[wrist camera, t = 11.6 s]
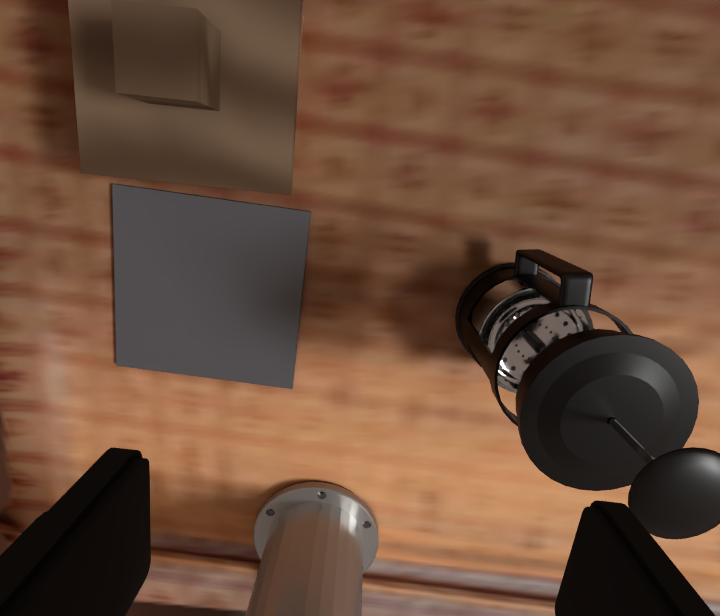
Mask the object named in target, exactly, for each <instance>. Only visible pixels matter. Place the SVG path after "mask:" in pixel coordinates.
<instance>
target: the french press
mask: <svg viewBox="0 0 720 616" xmlns="http://www.w3.org/2000/svg"><path fill="white" fill-rule="evenodd" d="M539 266H541V267H543V268H544V269H546V270H548V271H550V272H552V273H553V274H555V275H557V276H559V277H560V278H561V285H560V284H559V283H557V282H556V281H555V280H554V279H553V278H552V277H550V276H549V275H548V274H547V273H546V272H544V271H542V270H540V269H538V267H539ZM515 279H516V280H520V281H521V282H522V283H524V284H525V285H527V286H528V287H529V288H528V289H524V290H521V291H518V292H515V293H514V294H512V295H510V296H508V297H506V298H505V299H504V300H502V301H501V302H500V303H498V304H497V305H496V306H495V307H494V308H493V309H492V310H491V312H490V313H489V314H488V316H487V317H486V319H485V320H484V322H483V324H482V326H481V329H480V332H479V333H478V331H477V330H476V328H475V327H474V325H473V324H472V320H471V319H472V313H473V309H474V308H475V306H476V304H477V303H478V301H479V300H480V299H481V298H482V297H483V296H484V294H485V293H486V292H488V291H489V290H490V289H492V288H493V287H494V286H496V285H498V284H500V283H502V282H504V281H506V280H515ZM592 283H593V275H592V273H590V272H588V271H586V270H584V269H582V268H580V267H577V266H575V265H573V264H571V263H569V262H566V261H564V260H562V259H560V258H557V257H555V256H553V255H551V254H549V253H546V252H544V251H542V250H539V249H533V250H517V251H516V258H515V263H512V264H503V265H500V266H497V267H493V268H491V269H489V270H487V271H485V272H483V273H482V274H480V275H479V276H478V277H476V278H475V279H474V280H473V281H472V282H471V283H470V284H469V285H468V287H467V288H466V289H465V291H464V292H463V294H462V296H461V298H460V300H459V303H458V306H457V310H456V317H455V318H456V329H457V333H458V336H459V338H460V340H461V342H462V344H463V346H464V347H465V348H466V350H467V351H468V352H469V353H470V354H471V355H472V357H473V358H474V360H475V361H476V362H477V363H478V364H479V366H481V367H482V368H483V370H484V371H485V373H486V375H487V377H488V378H489V380H490V384H491V388H492V391H493V393H494V395H495V397H496V399H497V401H498V403H499V405H500V407H501V408H502V410H503V412H504V413H505V414H506V416H507V417H508V418H509V419H510V420H511V421H512V422H513V423H514V424H515V425H517V426H518V431H519V434H520V438H521V442H522V445H523V447H524V449H525V451H526V453H527V455H528V456H529V458H530V460H531V461H532V462H533V463H534V464H535V466H536V467H537V468H538V469H539V470H540V471H541V472H542V473H544V474H545V475H546V476H548V477H549V478H550V479H552V480H554V481H556V482H559V483H561V484H563V485H565V486H569V487H572V488H576V489H580V490H592V491H600V490H612V489H617V488H621V487H625V486H629V485H631V487H630V491H629V495H628V506H629V509H630V510H631V511H632V512H633V514H634V515H635V516H636V517H637V519H638V520H639V521H640V522H641V524H642V525H643V526H644V527H645V529H646V530H647V531H648V532H649V533H650V534H652V535H654V536H657V537H661V538H665V539H685V538H690V537H694V536H697V535H700V534H703V533H705V532H707V531H709V530H711V529H713V528H714V527H716V526H717V525H718V524H720V453H718V452H716V451H713V450H709V449H705V448H694V447H692V448H683V447H684V445H685V443H686V442H687V440H688V438H689V436H690V435H691V433H692V431H693V428H694V425H695V422H696V419H697V414H698V405H699V398H698V390H697V385H696V382H695V380H694V377H693V374H692V372H691V371H690V369H689V368H688V366H687V365H686V363H685V362H684V361H683V359H682V358H680V357H679V356H678V355H677V354H676V353H675V352H674V351H672V350H671V349H670V348H668V347H666V346H664V345H663V344H661V343H659V342H657V341H655V340H653V339H650V338H647V337H643V336H640V335H636V334H633V333H632V332H631V330H630V329H629V328H628V326H626V325H625V324H624V323H623V322H622V321H621V320H620V319H618V318H617V317H615V316H613V315H612V314H610V313H608V312H607V311H605V310H603V309H601V308H599V307H597V306H595V305H592V304H590V298H591V290H592ZM587 310H591V311H595V312H598V313H601V314H604V315H606V316H608V317H609V318H610V319H611V320H612V321H614V323H615V324H616V325H617V327H618V328H619V329H620V331H621V332H617V331H614V330H603V329H594V328H593V324H592V320H591V318H590V316H589V313H588V311H587ZM498 385H499V386H500V387H502V388H504V389H506V390H508V391H511V392H515V393H516V413H517V416H516V415H514V414H513V413H512V412H510V411H509V410H508V409H507V408H506V407H505V406H504V404H503V403H502V402H501V399H500V395H499V391H498Z"/></svg>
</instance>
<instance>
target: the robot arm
mask: <svg viewBox="0 0 720 616" xmlns="http://www.w3.org/2000/svg"><path fill="white" fill-rule="evenodd" d="M378 539H379V537H378V526H377V523H376V519H375V517H374V515H373V513H372V511H371V510H370V508H369V507H368V506H367V505H366V503H365V502H364V501H363V500H362V499H360V498H359V497H358V496H357V495H355V494H354V493H352V492H350V491H348V490H347V489H345V488H342V487H339V486H337V485H334V484H329V483H323V482H305V483H299V484H295V485H292V486H289V487H286V488H284V489H282V490H280V491H278V492H277V493H275V494H274V495H273V496H272V497H270V498H269V499H268V500H267V501H266V503H265V504H264V505H263V506H262V508H261V510H260V512H259V514H258V516H257V519H256V522H255V526H254V533H253V540H254V546H255V549H256V552H257V554H258V556H259V558H260V559H261V562H260V566H259V570H258V573H257V577H256V580H255V584H254V588H253V591H252V595H251V598H250V602H249V606H248V609H247V613H246V616H362V574H363V573H364V572H365V571H366V570H367V569H368V567H369V566H370V565H371V563H372V562H373V560H374V558H375V556H376V553H377V549H378ZM150 561H151V547H150V475H149V461H148V459H146V458H142V454H141V452H140V451H138V450H130V449H121V448H110V449H108V450H107V451H106V452H105V453H104V454H103V455H102V456H101V457H100V458H99V459H98V460H97V461H96V462H95V463H94V464H93V465H92V466H91V467H90V468H89V469H88V470H87V471H86V473H85V474H84V475H83V476H82V477H81V478H80V479H79V480H78V481H77V482H76V483H75V484H74V485H73V486H72V487H71V488H70V489H69V490H68V491H67V492H66V493H65V494H64V495H63V496H62V497H61V498H60V499H59V500H58V501H57V502H56V503H55V504H54V505H53V507H52V508H51V509H50V510H49V511H47V512H45V513H43V514H42V515H41V516H39V517H38V518H37V519H36V520H35V521H34V522H33V523H32V524H31V525H30V526H29V527H28V528H27V529H26V530H25V531H24V532H23V533H22V534H21V535H20V536H19V537H18V538H17V539H16V540H15V541H14V542H13V543H12V544H11V545H10V546H9V547H8V548H7V549H6V550H5V552H4V553H3V554H2V555H1V556H0V616H125V615H126V613H127V612H128V610H129V608H130V606H131V604H132V603H133V601H134V599H135V597H136V596H137V594H138V592H139V590H140V588H141V587H142V585H143V583H144V581H145V579H146V577H147V574H148V571H149V568H150ZM555 615H556V616H715V615H714V613H713V612H712V611H711V610H710V608H709V607H708V606H707V605H706V603H705V602H704V601H703V600H702V598H701V597H700V596H699V595H698V593H697V592H696V591H695V590H694V588H693V587H692V586H691V585H690V583H689V582H688V581H687V580H686V579H685V577H684V576H683V575H682V574H681V572H680V571H679V570H678V569H677V567H676V566H675V565H674V564H673V562H672V561H671V560H670V559H669V557H668V556H667V555H666V554H665V552H664V551H663V550H662V549H661V547H660V546H659V545H658V544H657V542H656V541H655V540H654V539H653V537H652V536H651V535H650V534H649V532H648V531H647V530H646V529H645V527H644V526H643V525H642V524H641V522H640V521H639V520H638V519H637V517H636V516H635V515H634V514H633V512H632V511H631V510H630V509H629V508H628V507H627V506H626V505H625V504H622V503H615V502H606V501H594V502H593V503H592V504H591V506H590V507H586V508H584V510H583V512H582V515H581V519H580V522H579V525H578V529H577V532H576V535H575V539H574V542H573V546H572V549H571V552H570V556H569V559H568V562H567V566H566V569H565V572H564V576H563V579H562V582H561V586H560V589H559V593H558V596H557V599H556V603H555Z"/></svg>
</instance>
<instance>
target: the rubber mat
mask: <svg viewBox="0 0 720 616" xmlns="http://www.w3.org/2000/svg"><path fill="white" fill-rule="evenodd" d="M112 193H113V237H114V280H115V324H116V366H124V367H131V368H139V369H146V370H154V371H161V372H169V373H176V374H184V375H191V376H199V377H207V378H214V379H222V380H229V381H237V382H244V383H252V384H259V385H267V386H274V387H282V388H289V389H292V387H293V379H294V369H295V360H296V350H297V340H298V331H299V321H300V311H301V302H302V292H303V282H304V273H305V263H306V253H307V244H308V234H309V224H310V215H311V212H310V211H303V210H296V209H289V208H282V207H275V206H268V205H261V204H254V203H247V202H240V201H232V200H225V199H218V198H211V197H204V196H197V195H190V194H183V193H176V192H169V191H162V190H155V189H147V188H140V187H133V186H126V185H119V184H112Z"/></svg>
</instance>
